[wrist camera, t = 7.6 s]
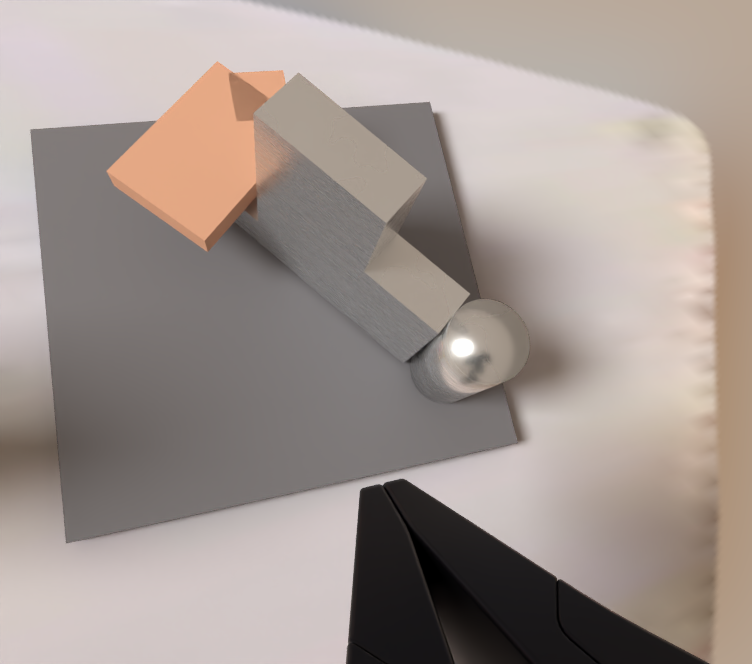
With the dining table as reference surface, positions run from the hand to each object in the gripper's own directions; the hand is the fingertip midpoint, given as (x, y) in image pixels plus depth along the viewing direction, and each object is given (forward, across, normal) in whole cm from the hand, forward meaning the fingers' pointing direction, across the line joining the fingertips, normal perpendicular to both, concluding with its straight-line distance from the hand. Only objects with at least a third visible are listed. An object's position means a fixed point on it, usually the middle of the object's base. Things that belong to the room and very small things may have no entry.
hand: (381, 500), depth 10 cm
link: (+14, +2, -2) cm, 14 cm away
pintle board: (+14, 0, -3) cm, 15 cm away
